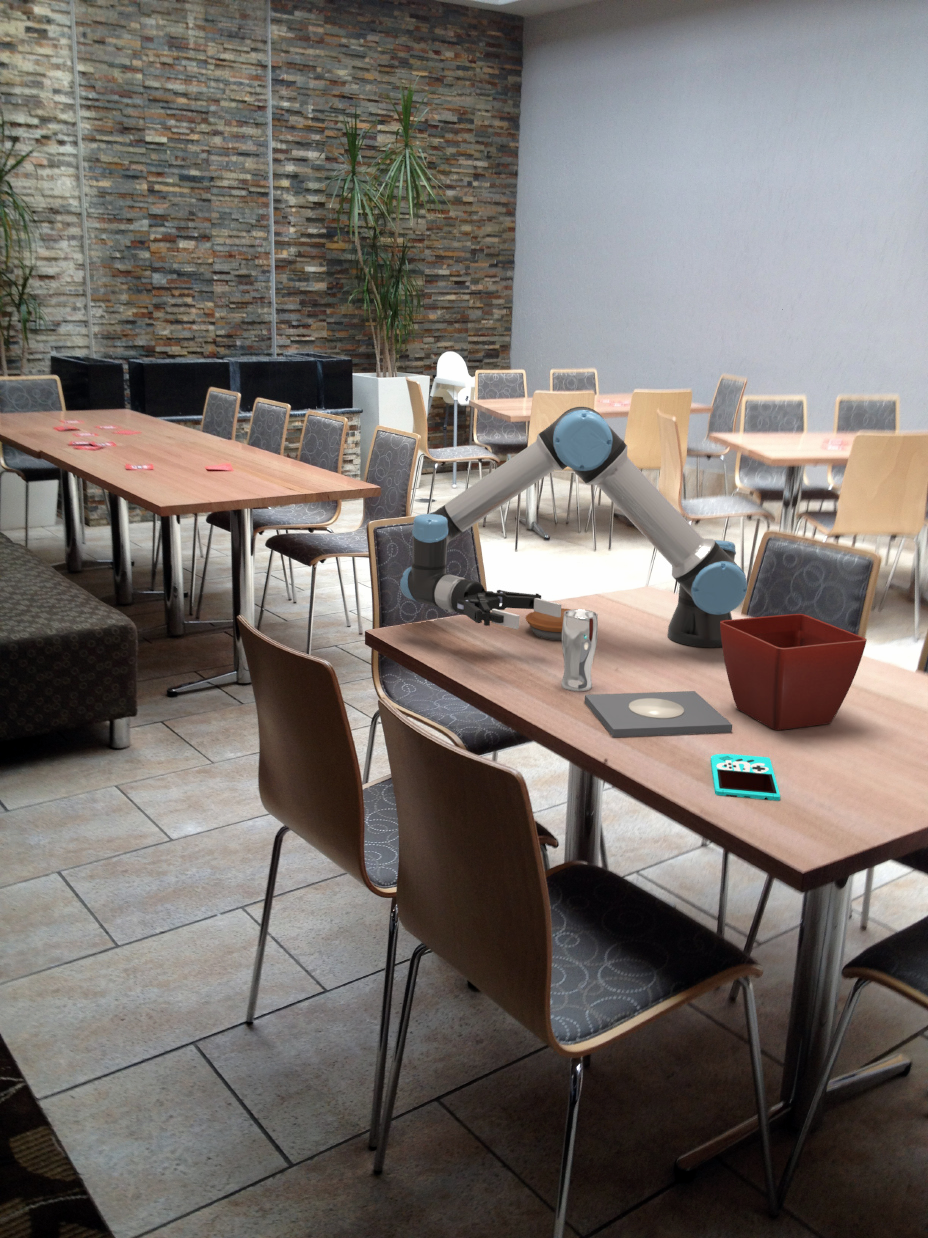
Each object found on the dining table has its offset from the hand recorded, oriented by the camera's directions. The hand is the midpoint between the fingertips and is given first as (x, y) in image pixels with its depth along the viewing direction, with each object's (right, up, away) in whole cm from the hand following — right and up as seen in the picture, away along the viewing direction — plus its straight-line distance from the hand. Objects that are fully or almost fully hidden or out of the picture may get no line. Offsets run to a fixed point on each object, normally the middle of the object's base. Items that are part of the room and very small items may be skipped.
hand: (539, 616), depth 220 cm
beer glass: (+7, -14, -3) cm, 16 cm away
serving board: (+20, -19, -18) cm, 33 cm away
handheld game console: (+30, -27, -44) cm, 59 cm away
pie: (+7, -4, +33) cm, 34 cm away
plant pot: (+44, -19, -16) cm, 50 cm away
